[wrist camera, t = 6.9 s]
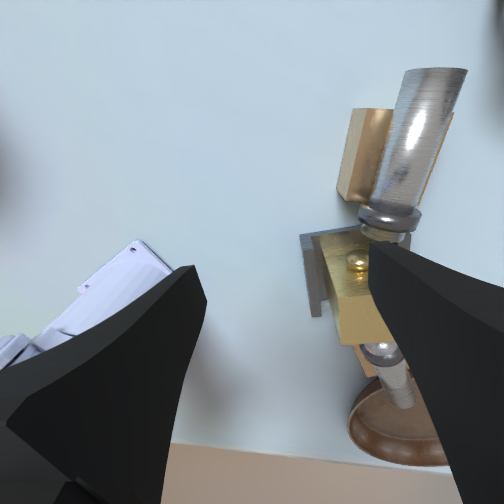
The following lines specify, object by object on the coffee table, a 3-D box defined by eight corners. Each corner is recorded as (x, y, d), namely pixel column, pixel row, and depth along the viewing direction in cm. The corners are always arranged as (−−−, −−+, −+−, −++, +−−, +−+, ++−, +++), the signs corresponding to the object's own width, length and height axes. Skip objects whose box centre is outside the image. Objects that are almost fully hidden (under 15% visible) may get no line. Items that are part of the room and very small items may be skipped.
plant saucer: (324, 427, 34) (328, 454, 31) (374, 336, 25) (385, 363, 22) (453, 449, 34) (469, 477, 31) (549, 365, 25) (581, 395, 22)
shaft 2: (338, 308, 23) (354, 360, 18) (387, 293, 22) (419, 345, 17) (362, 361, 26) (382, 417, 22) (406, 351, 25) (438, 408, 20)
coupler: (374, 291, 21) (406, 349, 16) (326, 296, 22) (341, 353, 17) (375, 231, 19) (413, 278, 13) (321, 240, 19) (337, 287, 14)
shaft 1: (392, 212, 18) (433, 249, 14) (332, 208, 19) (351, 242, 14) (436, 82, 15) (515, 68, 10) (359, 79, 15) (399, 63, 10)
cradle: (391, 287, 22) (404, 308, 19) (308, 297, 23) (311, 317, 21) (395, 219, 19) (411, 234, 16) (299, 234, 20) (302, 250, 18)
